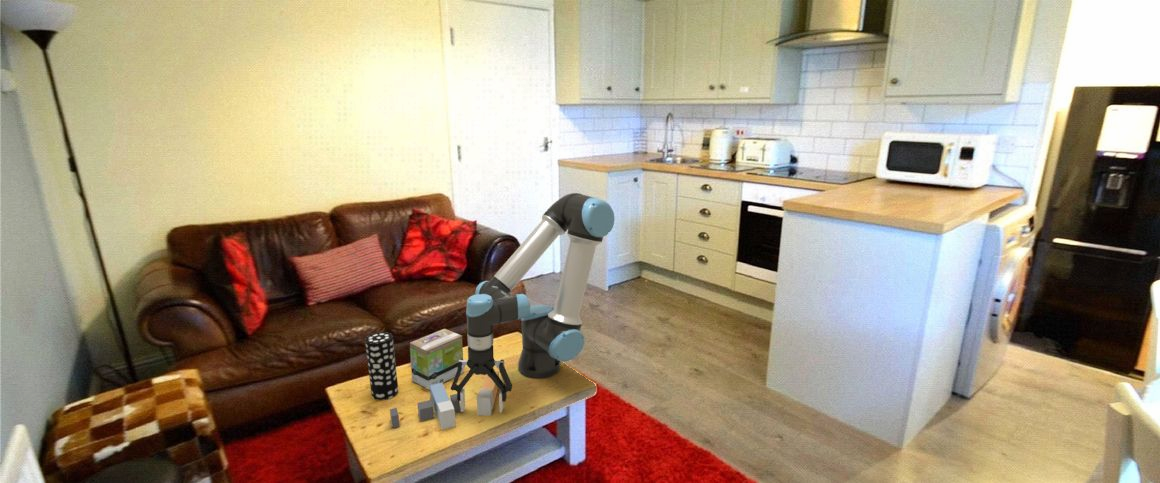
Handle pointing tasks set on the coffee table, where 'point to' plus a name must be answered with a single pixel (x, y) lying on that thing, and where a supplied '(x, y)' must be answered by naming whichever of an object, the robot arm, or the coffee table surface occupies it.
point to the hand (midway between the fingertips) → (482, 409)
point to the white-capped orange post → (487, 396)
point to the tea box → (435, 357)
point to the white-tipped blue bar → (442, 406)
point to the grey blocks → (423, 410)
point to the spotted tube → (381, 365)
